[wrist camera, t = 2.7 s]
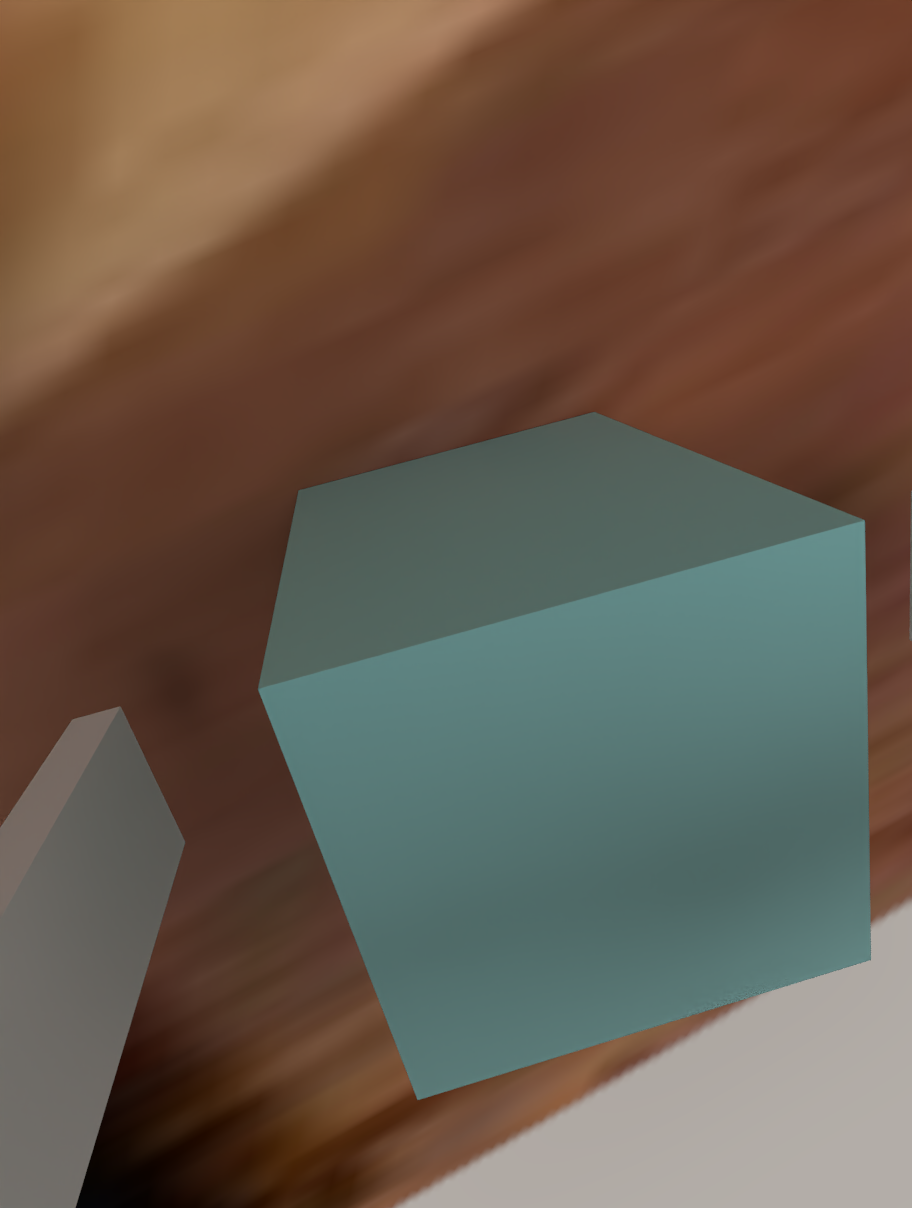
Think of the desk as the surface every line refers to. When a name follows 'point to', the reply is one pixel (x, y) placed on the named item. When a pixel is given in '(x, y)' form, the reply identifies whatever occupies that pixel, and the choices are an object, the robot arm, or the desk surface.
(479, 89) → the desk surface
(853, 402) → the desk surface
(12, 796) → the desk surface
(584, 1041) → the teal rectangular block
